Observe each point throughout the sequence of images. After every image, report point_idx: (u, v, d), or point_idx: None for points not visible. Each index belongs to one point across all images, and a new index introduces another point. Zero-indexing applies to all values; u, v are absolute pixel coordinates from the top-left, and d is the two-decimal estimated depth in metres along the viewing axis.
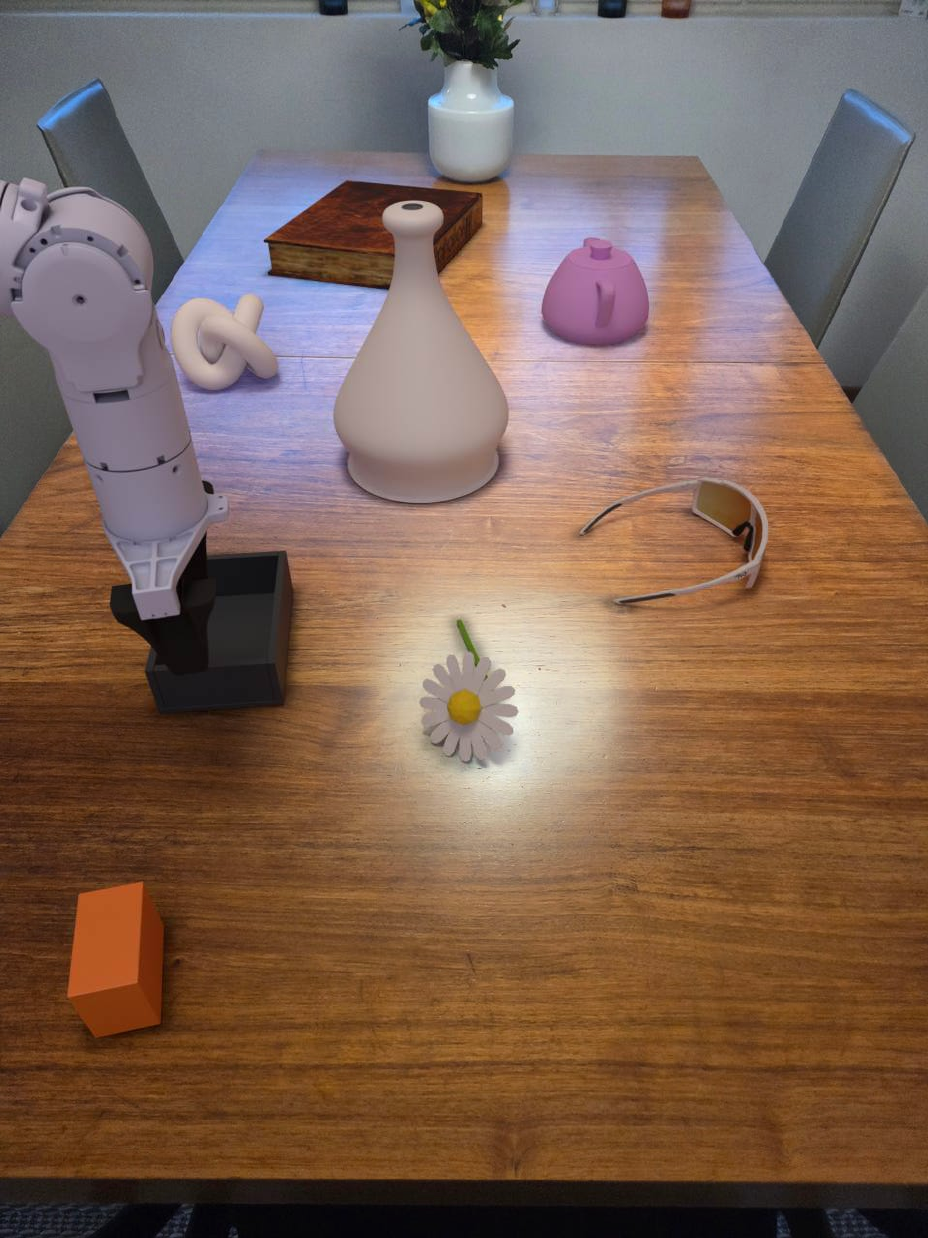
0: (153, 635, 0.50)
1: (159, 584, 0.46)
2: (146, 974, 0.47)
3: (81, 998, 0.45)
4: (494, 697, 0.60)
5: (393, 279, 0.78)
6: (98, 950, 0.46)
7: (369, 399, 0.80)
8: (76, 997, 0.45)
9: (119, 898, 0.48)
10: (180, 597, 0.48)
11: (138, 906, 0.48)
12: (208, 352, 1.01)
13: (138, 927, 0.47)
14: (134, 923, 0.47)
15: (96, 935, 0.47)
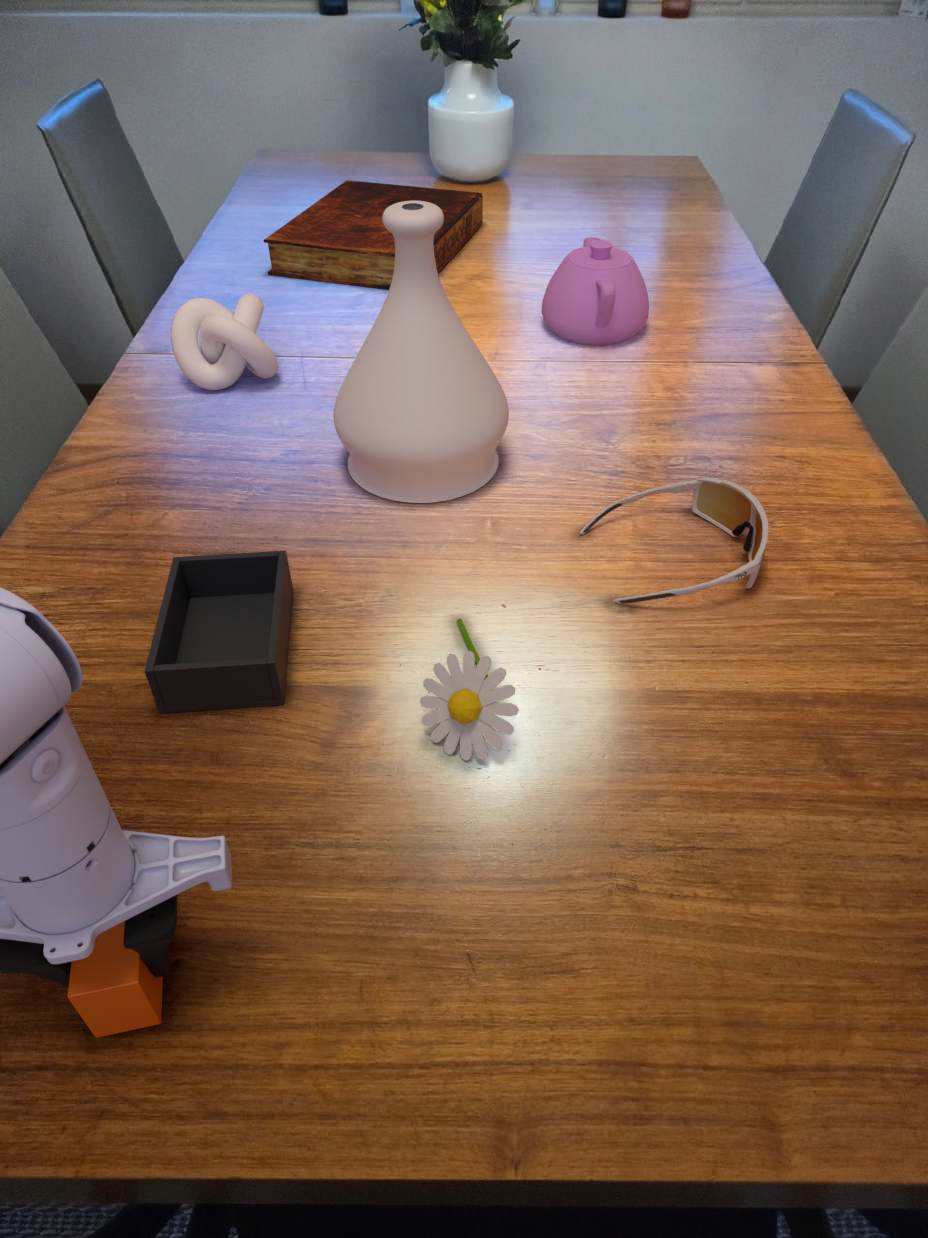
0: None
1: None
2: (146, 974, 0.47)
3: (82, 998, 0.45)
4: (494, 696, 0.60)
5: (393, 279, 0.78)
6: (98, 950, 0.46)
7: (369, 399, 0.80)
8: (76, 997, 0.45)
9: None
10: None
11: None
12: (208, 352, 1.01)
13: None
14: None
15: None
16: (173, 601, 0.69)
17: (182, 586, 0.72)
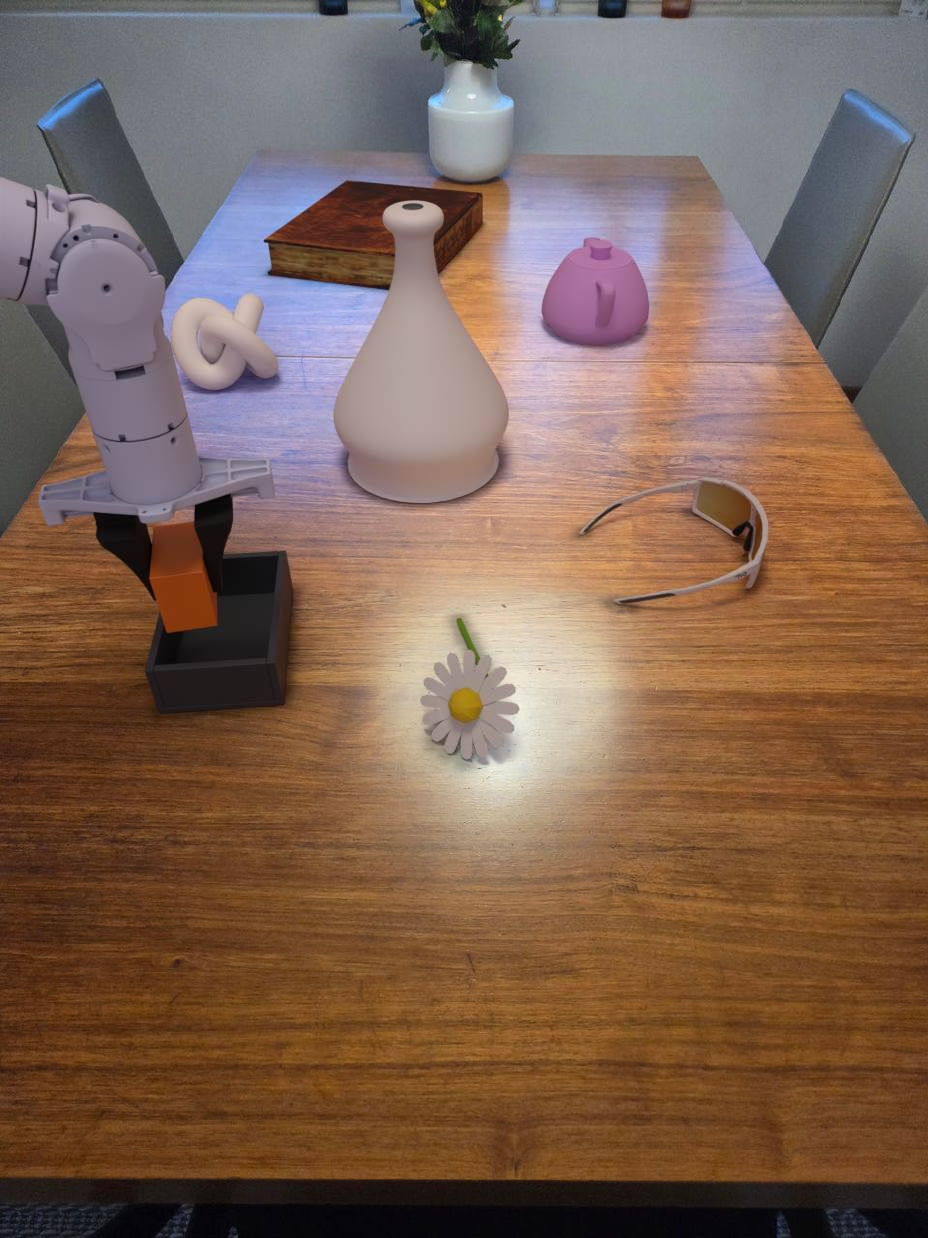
0: None
1: (54, 498, 0.56)
2: (207, 577, 0.60)
3: (160, 582, 0.58)
4: (495, 695, 0.60)
5: (393, 279, 0.78)
6: (171, 555, 0.60)
7: (369, 399, 0.80)
8: (156, 580, 0.58)
9: (185, 528, 0.62)
10: (105, 521, 0.57)
11: None
12: (208, 352, 1.01)
13: None
14: (198, 541, 0.61)
15: (169, 547, 0.60)
16: None
17: None
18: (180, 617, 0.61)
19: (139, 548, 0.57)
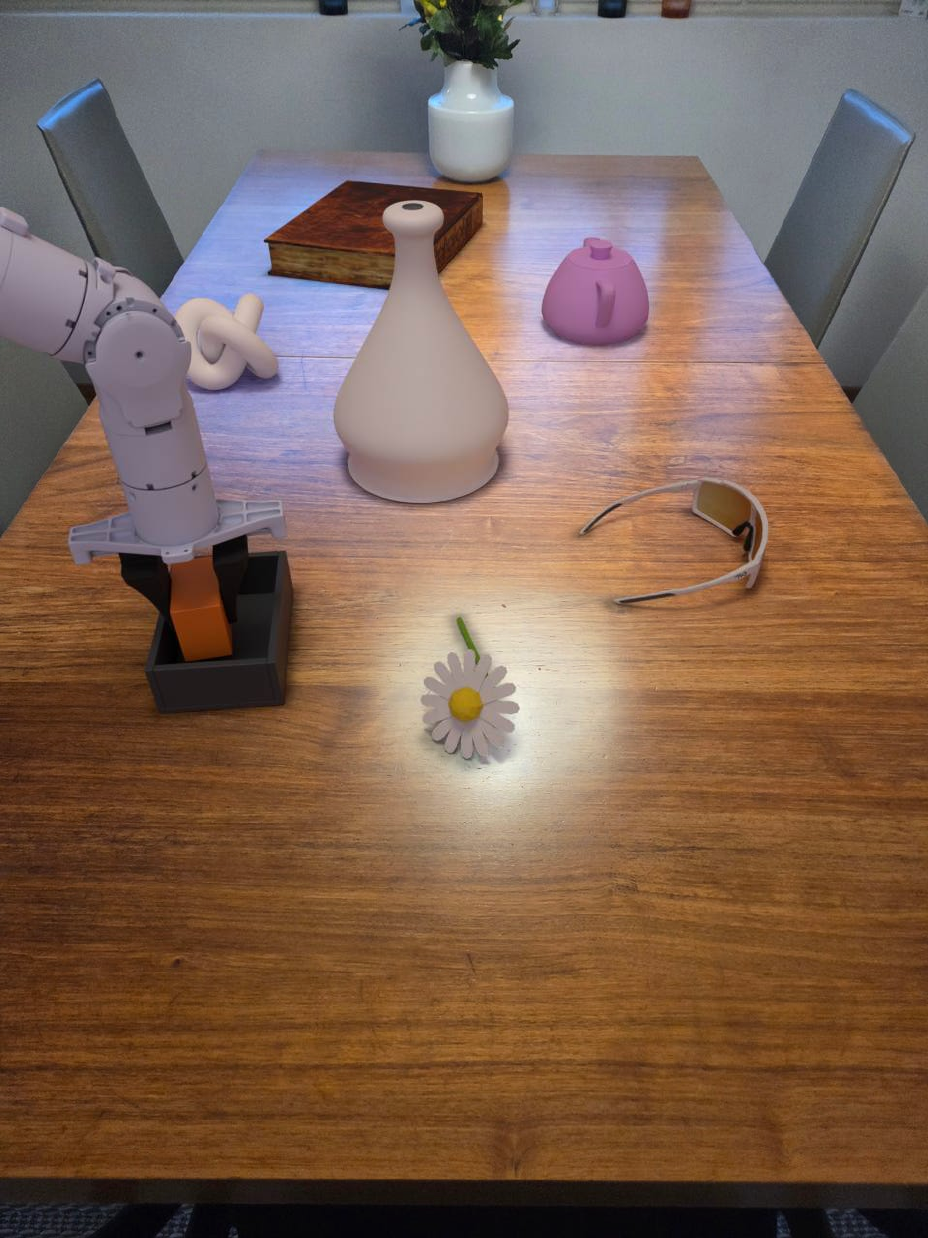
0: None
1: (82, 539, 0.60)
2: (223, 610, 0.65)
3: (180, 615, 0.63)
4: (495, 694, 0.60)
5: (393, 279, 0.78)
6: (189, 589, 0.64)
7: (369, 399, 0.80)
8: (176, 614, 0.62)
9: (202, 564, 0.66)
10: (129, 560, 0.61)
11: None
12: (208, 352, 1.01)
13: None
14: (214, 576, 0.65)
15: (187, 582, 0.65)
16: None
17: None
18: (198, 647, 0.65)
19: (161, 585, 0.61)
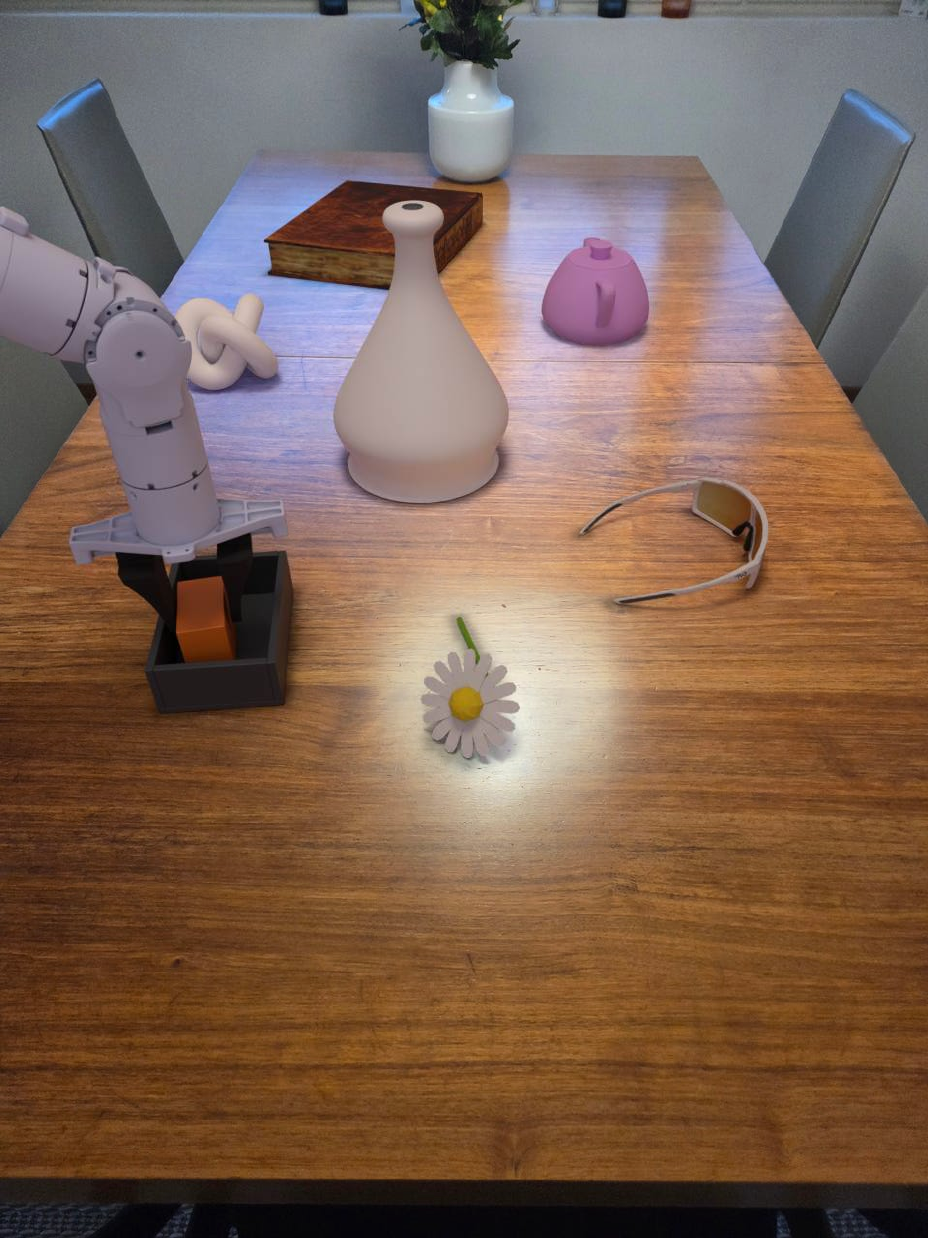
0: None
1: (84, 539, 0.60)
2: (228, 630, 0.66)
3: (185, 636, 0.64)
4: (495, 694, 0.60)
5: (393, 279, 0.78)
6: (195, 610, 0.65)
7: (369, 399, 0.80)
8: (182, 634, 0.64)
9: (207, 584, 0.68)
10: (126, 560, 0.61)
11: (221, 588, 0.67)
12: (208, 352, 1.01)
13: (222, 598, 0.66)
14: (219, 596, 0.66)
15: (193, 602, 0.66)
16: None
17: None
18: None
19: (158, 585, 0.61)
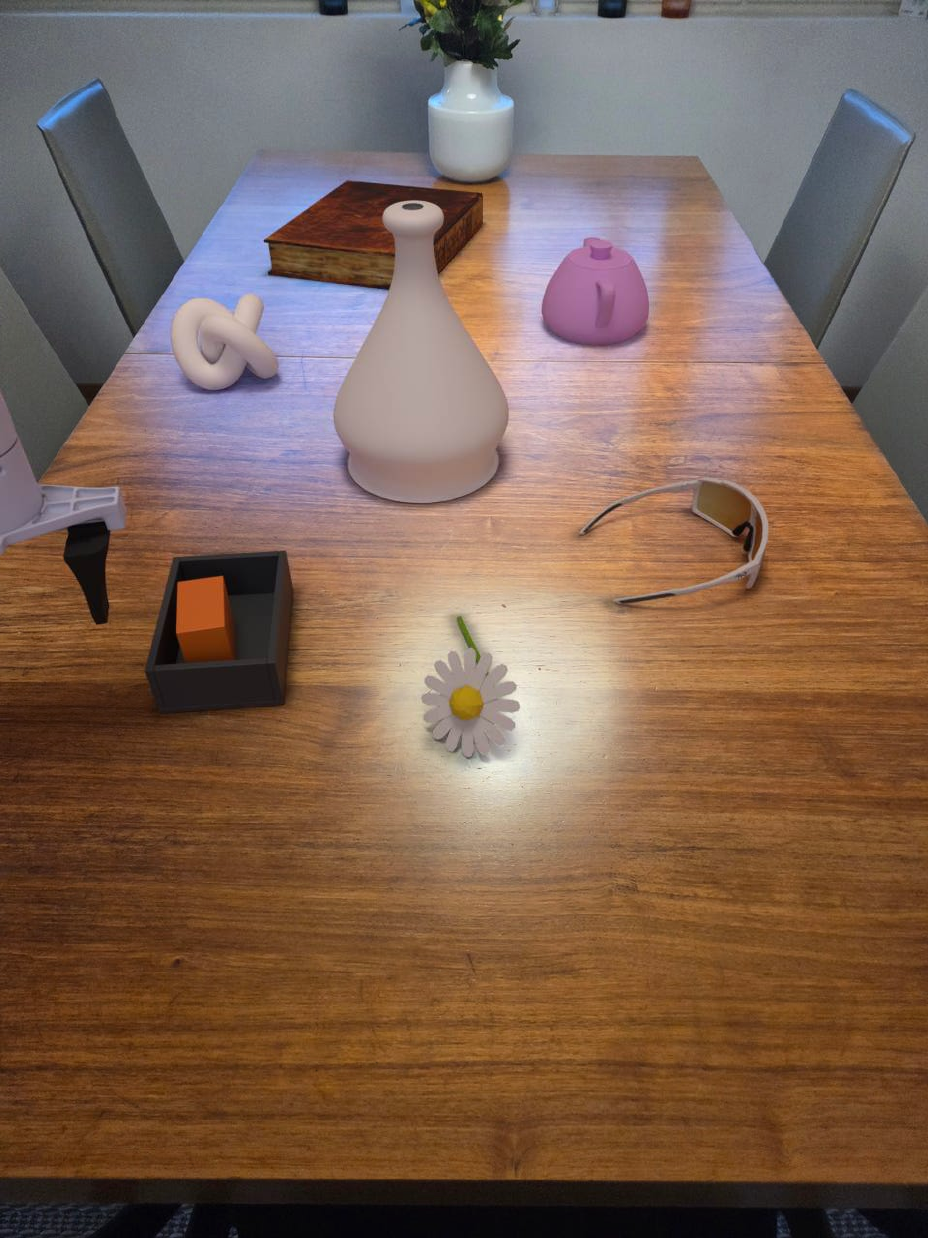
0: None
1: None
2: (228, 630, 0.66)
3: (185, 636, 0.64)
4: (496, 693, 0.61)
5: (393, 279, 0.78)
6: (195, 610, 0.65)
7: (369, 399, 0.80)
8: (182, 634, 0.64)
9: (207, 584, 0.68)
10: None
11: (221, 588, 0.67)
12: (208, 352, 1.01)
13: (222, 598, 0.66)
14: (219, 596, 0.66)
15: (193, 602, 0.66)
16: (173, 601, 0.69)
17: None
18: None
19: None
